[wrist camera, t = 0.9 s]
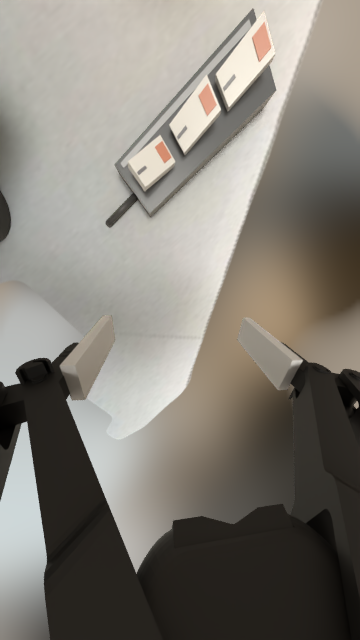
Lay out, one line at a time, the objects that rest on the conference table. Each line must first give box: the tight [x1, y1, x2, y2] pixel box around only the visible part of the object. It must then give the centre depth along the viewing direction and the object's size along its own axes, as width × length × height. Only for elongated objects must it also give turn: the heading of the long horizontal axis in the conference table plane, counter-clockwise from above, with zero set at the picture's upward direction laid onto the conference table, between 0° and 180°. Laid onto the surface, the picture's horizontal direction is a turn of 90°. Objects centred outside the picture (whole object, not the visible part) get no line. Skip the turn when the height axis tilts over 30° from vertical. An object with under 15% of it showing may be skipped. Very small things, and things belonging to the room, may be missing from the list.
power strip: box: [106, 9, 276, 227], centre depth 28 cm, size 9×37×4 cm, turn 128°
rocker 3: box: [215, 11, 275, 112], centre depth 22 cm, size 4×7×2 cm, turn 128°
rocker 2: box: [169, 74, 221, 155], centre depth 24 cm, size 4×7×2 cm, turn 128°
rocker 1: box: [128, 135, 175, 191], centre depth 26 cm, size 4×7×2 cm, turn 128°
